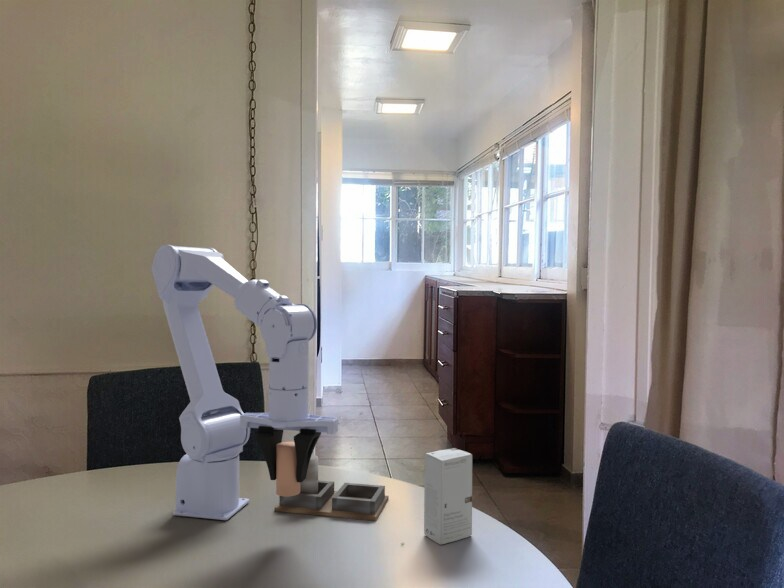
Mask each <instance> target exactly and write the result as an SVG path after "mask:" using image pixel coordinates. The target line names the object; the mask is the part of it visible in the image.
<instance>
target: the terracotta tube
mask: <svg viewBox="0 0 784 588" xmlns="http://www.w3.org/2000/svg"><path fill="white" fill-rule="evenodd" d="M296 467H297V458H296V449H295V443H294V441H283V442H281V443H278V444H277V445H276V480H275V481H276V483H275V491H276V492H275V493H276V495H277V496H283V497H290V496H295V495H298V494H299V493H300V482H297V479H296Z"/></svg>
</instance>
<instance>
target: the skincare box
mask: <svg viewBox="0 0 784 588" xmlns="http://www.w3.org/2000/svg"><path fill="white" fill-rule="evenodd" d="M423 490H424V492H423V493H424V501H423V502H424V503H423V504H424V505H423V510H424V512H423V517H424V518H423V534H424V536H426V537H427V538H429V539H430V540H432V541H433V542H434V543H436V544H438V545H439V546H440V545H445V544H448V543H452V542H456V541H460V540H462V539H467V538H469V537H471V536H472V535H473V454H472V453H470V452H468V451H465V450H461V449H458V448H456V447H453V448H447V449H439V450H436V451H435V450H434V451H432V452H431V451H430V452H425V454H424V489H423Z"/></svg>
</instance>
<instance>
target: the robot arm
mask: <svg viewBox="0 0 784 588" xmlns="http://www.w3.org/2000/svg"><path fill="white" fill-rule="evenodd" d="M150 269H151V272H152V275H153V280H154V283H155V286H156V291H157V294H158V298H159V299H160V300H161V301H162V305H163V310H164V314H165V317H166V320H167V325H168V327H169V331H170V334H171V338H172V341H173V344H174V348H175V352H176V355H177V359H178V362H179V366H180V370H181V372H182V377H183V380H184V382H185V383H184V384H185V386H186V390H187V394H188V396H189V397H188V398H189V401H190V402H189V403H188V404H187V406H186V407H185V408H184V410H183V411H182V413H181V414H180V415H179V417H178V419H179V423H180V424H179V425H180V442H181V446H182V449H183V451H184V452H185V453H186V454H184V455H183V456H182V457H181V458H180V460H179V462H178V463H177V467H176V472H175V510H174V511H173V512H172V515H173V516H178V517H181V516H182V517H189V518H202V519H208V520H209V519H210V520H211V519H212V520H220V521H221V520H222V521H227V520H229V519H230V518H231V517H232V516H234V515H235V514H236V513H238V512H239V511H240V510H241V509H242V508H244V506H245V505H247V504H248V503H250V498H244V497H243V498H242V497H240V453H242V452H243V451H244V446H245V445H246V444H247V443H248V441H249V439H250V436H251V435H250V434H251V429H252V428H253V429H258V430H257V433H255V434H254V440H255V442H256V443H257V445H258V446H259V448H260V450H261V453H262V454H263V457H264V459H265V463H266V465H267V468H268V474H269V478H270V479H269V480H271V481H276V445H277V444H278V443H281V442H282V441H283V435H284V431H295V432H296V431H299V433H297V434H295V435H294V436H293V442H294V443H295V449H296V458H297V467H296V479H297V482H300V483H301V482H303V481H304V480H305V479H306V476H307V470H308V466H309V462H310V458H311V455H313V453H314V450H315V447H316V445H317V443H318V441H319V438H320V437H321V435H322V433H326V434H327V435H334V434H336V433H337V432H338V430H339V428H338V427H339V426H338V425H339V419H338V417H330V416H323V415H316V414H312V413H311V414H310V413H309V361H310V360H309V358H310V356H309V355H310V354H309V352H310V351H309V349H310V347H309V346H310V345H309V343H310V342H309V341H311V340H313V338H314V337H315V335H316V334H317V330H318V320H317V316H316V314H315V312H314V311H313V309H312V308H310V306H309V305H308V304H306V303H296V304H294V303H293V302H291V301H290V298H289V297H288V296H286V295H281V294H280V293H279V292H277V291H275V289H273V288H272V287H270V285H271V284H270V282H269V281H268V280H266V279H251V280H248V279H247V278H246V277H245V276H244V275H242V274H241V273H240V272H239V271H238V270H236V269H235V268H234V267H233V266H232V265H231V264H229V263H228V262H227V261H226V260H225V256H224V253H221V252H219V251H217V250H216V249H215V248H214V247H193V246H192V247H191V246H182V245H181V246H179V245H178V246H177V245H172V244H163V245H161V246H160V247H159V248H158V249H157V250H156V252H155V255H154V258H153V262H152V265H151V267H150ZM213 287H216V288H217V289H219V290H221V291H222V292H224V293H225V294H227V295H228V296H230V297H232V298H233V299H234V307H235V309H236V310H237V311H238V312H240V313H241V314H242V315H243V316H245V317H246V318H247V319H248V320H249V321H251V322H252V323H253V324H255V325H256V326H258V327H259V330H260V335H261V338H262V339H263V341H264V344H265V353H266V355H267V357H268V412H245V413H244V412H243V410H242V407H241V405H240V401H239V400H238V399H237V398H235V397H234V396H232V395H230V394H228V393H226V392H225V391H224V389H223V385H222V383H221V379H220V376H219V373H218V369H217V365H216V362H215V359H214V356H213V352H212V349H211V346H210V341H209V339H208V336H207V332H206V329H205V326H204V325H205V324H204V322H203V318H202V316H201V313H200V309H199V304H200V302H201V301H203V300H204V299H206V298H207V297H208V295H209V293H210V292H211V291H212V289H213Z"/></svg>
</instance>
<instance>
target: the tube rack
mask: <svg viewBox="0 0 784 588" xmlns="http://www.w3.org/2000/svg"><path fill="white" fill-rule="evenodd" d="M278 496H279V495H278ZM389 500H390V499H389V495H386V486H385V485H378V484H367V483H366V484H365V483H353V482H344V483H343V484H342V485H341V486H340V488H339V489H338V490H337V491H336V490H335V481H329V480H328V481H327V480H319V456H318V455H316V454H312V455H311V458H310V462H309V466H308V470H307V476H306V479H305V480H304V481H303V482H301V483H300V493H299V494H298V495H295V496H290V497H283V496H279V501H278V502H279V503H277V504H276V505H275V506H274V512H281V513H282V512H283V513H289V514H290V513H291V514H292V513H293V514H302V515H303V514H304V515H311V516H312V515H314V516H321V517H322V516H325V517H334V518H345V519H354V520H366V521H375V522H376V521H377V520H378V518H379V516H380V515H381V513H382V512H383V509H384V508H385V506H386V504H387V503H388V501H389Z"/></svg>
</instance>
